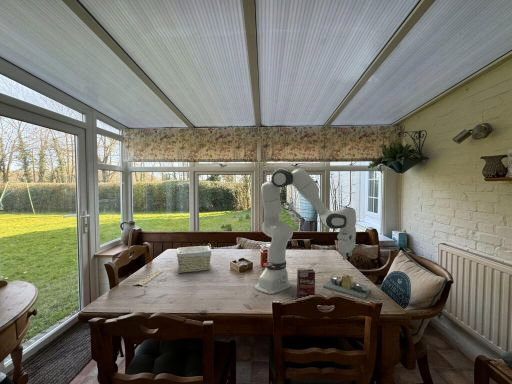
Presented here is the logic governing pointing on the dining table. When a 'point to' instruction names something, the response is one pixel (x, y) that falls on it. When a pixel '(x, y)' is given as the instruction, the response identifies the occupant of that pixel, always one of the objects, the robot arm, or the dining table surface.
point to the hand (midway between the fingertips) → (347, 257)
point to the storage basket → (193, 258)
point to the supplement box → (305, 282)
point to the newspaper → (149, 278)
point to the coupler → (347, 281)
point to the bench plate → (345, 290)
